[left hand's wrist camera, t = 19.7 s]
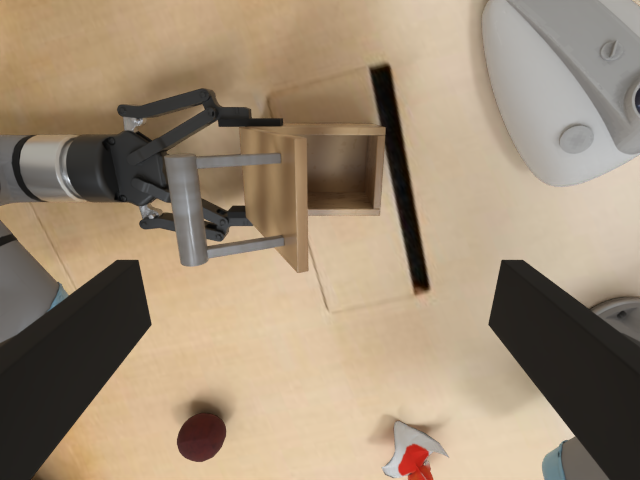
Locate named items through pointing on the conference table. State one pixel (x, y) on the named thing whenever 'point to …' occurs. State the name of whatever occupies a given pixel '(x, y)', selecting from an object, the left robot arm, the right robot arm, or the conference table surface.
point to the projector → (566, 83)
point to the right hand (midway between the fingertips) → (283, 169)
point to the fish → (411, 453)
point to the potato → (201, 437)
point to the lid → (247, 198)
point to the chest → (341, 167)
